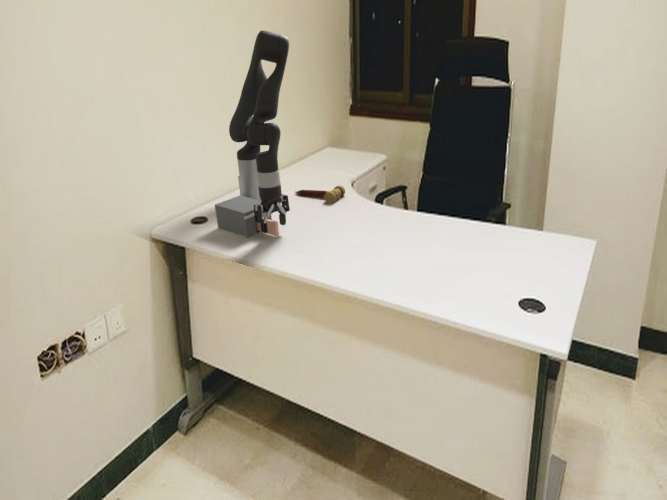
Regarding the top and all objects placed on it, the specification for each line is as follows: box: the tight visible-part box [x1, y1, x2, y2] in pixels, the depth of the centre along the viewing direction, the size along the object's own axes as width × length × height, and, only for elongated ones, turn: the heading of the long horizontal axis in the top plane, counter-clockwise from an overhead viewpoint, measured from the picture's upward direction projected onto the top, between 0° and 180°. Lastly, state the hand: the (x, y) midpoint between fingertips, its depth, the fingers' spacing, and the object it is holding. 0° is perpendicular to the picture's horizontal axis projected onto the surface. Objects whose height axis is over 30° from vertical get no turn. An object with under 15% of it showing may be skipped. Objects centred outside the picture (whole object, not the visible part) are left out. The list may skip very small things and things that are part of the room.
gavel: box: [294, 185, 346, 204], centre depth 231 cm, size 21×5×10 cm
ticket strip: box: [256, 218, 280, 237], centre depth 200 cm, size 23×1×5 cm, turn 50°
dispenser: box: [214, 195, 273, 238], centre depth 202 cm, size 17×13×9 cm
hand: (274, 228), depth 194 cm, fingers open, 8 cm apart
